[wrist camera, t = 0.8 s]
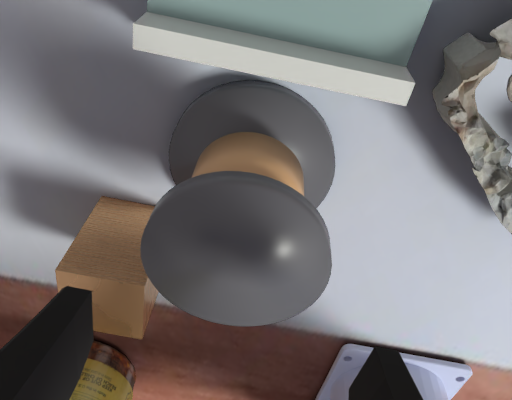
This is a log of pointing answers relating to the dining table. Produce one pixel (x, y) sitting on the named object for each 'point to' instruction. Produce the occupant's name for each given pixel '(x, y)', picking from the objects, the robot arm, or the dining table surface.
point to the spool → (244, 207)
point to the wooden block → (112, 267)
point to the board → (294, 40)
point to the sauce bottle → (105, 375)
